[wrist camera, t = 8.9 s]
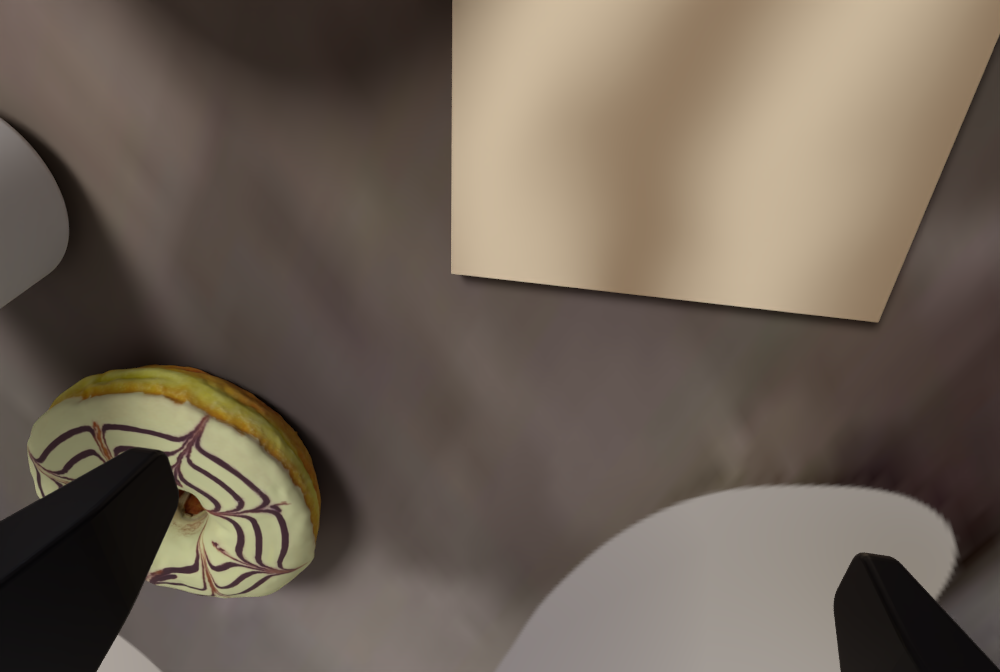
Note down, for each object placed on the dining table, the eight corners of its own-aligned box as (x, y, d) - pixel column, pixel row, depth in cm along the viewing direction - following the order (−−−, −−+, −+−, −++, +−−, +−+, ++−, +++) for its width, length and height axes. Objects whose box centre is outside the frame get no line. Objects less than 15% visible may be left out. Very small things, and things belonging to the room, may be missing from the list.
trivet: (1096, -237, 13) (1115, -241, 12) (872, 310, 20) (878, 322, 19) (459, -260, 14) (453, -264, 14) (455, 263, 21) (451, 273, 20)
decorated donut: (171, 551, 32) (122, 625, 29) (25, 365, 27) (-54, 431, 23) (375, 535, 29) (345, 616, 26) (258, 323, 24) (202, 392, 20)
